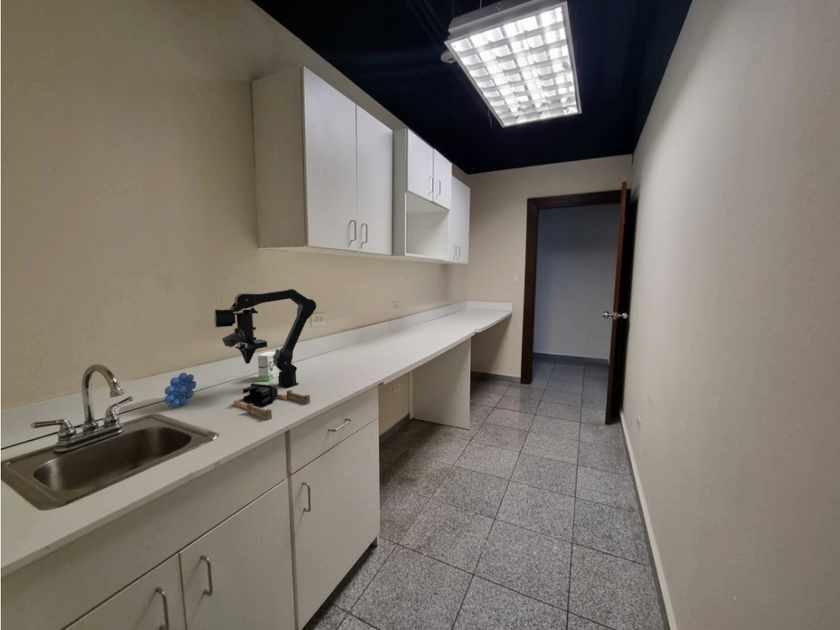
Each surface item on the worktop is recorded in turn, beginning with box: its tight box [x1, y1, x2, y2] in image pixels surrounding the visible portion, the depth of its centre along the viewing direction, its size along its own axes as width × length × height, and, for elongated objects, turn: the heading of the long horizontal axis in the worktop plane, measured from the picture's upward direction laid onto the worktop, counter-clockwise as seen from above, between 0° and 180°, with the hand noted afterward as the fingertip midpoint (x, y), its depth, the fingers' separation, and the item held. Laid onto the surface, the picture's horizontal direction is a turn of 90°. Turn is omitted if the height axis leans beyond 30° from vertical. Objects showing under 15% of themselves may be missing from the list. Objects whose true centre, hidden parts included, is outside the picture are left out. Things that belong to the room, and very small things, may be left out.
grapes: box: [164, 372, 197, 409], centre depth 126 cm, size 12×7×12 cm, turn 161°
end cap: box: [242, 382, 279, 408], centre depth 129 cm, size 10×7×7 cm
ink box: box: [257, 351, 279, 382], centre depth 158 cm, size 9×5×12 cm, turn 172°
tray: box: [233, 392, 288, 410], centre depth 129 cm, size 14×12×2 cm
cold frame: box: [246, 389, 311, 421], centre depth 124 cm, size 17×11×3 cm, turn 148°
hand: (247, 363), depth 139 cm, fingers closed
